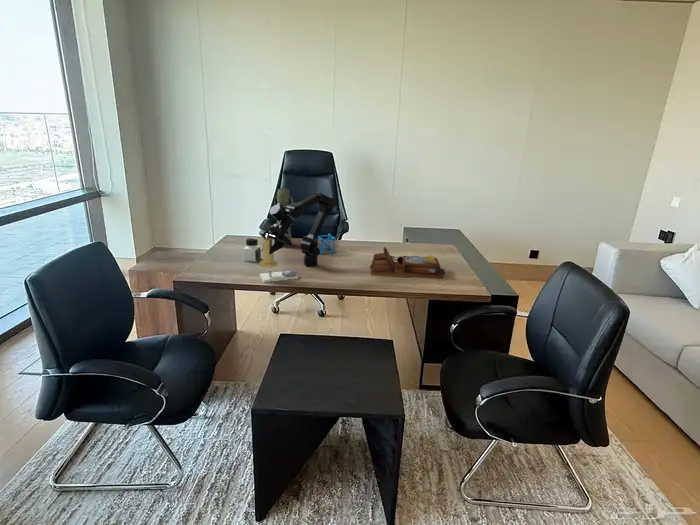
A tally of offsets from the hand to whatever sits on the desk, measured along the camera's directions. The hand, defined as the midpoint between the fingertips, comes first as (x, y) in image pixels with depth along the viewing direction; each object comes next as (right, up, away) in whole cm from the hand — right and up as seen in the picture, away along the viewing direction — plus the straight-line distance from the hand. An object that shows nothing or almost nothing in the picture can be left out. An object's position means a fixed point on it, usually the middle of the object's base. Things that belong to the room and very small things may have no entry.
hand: (265, 252), depth 199 cm
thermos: (-1, +6, +61) cm, 61 cm away
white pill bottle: (-14, -3, +32) cm, 35 cm away
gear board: (+5, -12, +7) cm, 15 cm away
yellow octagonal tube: (+1, -6, +3) cm, 7 cm away
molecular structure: (+25, +2, +51) cm, 57 cm away
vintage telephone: (+71, -9, +26) cm, 76 cm away
